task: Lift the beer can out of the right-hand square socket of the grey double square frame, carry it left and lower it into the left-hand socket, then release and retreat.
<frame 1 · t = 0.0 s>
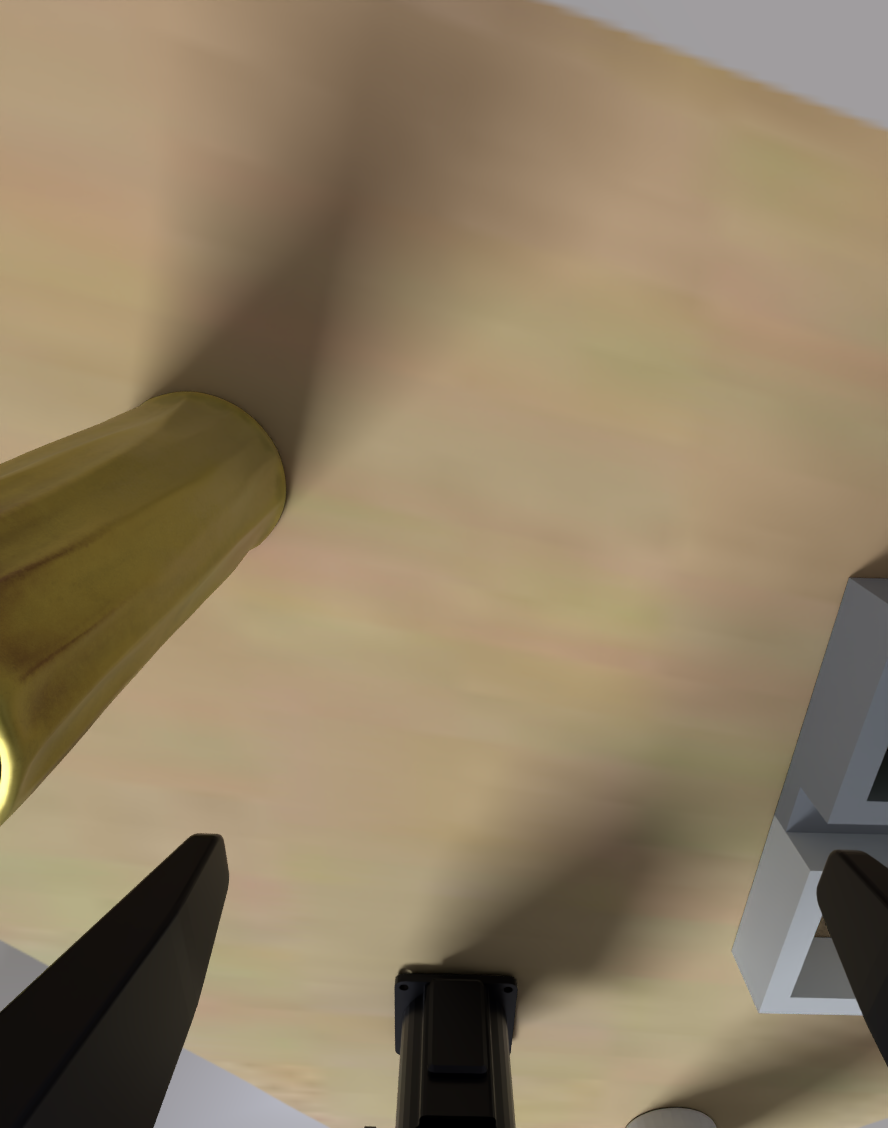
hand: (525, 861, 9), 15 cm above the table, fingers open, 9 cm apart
vase: (204, 476, 22), on the table
grey double square frame: (884, 795, 27), on the table
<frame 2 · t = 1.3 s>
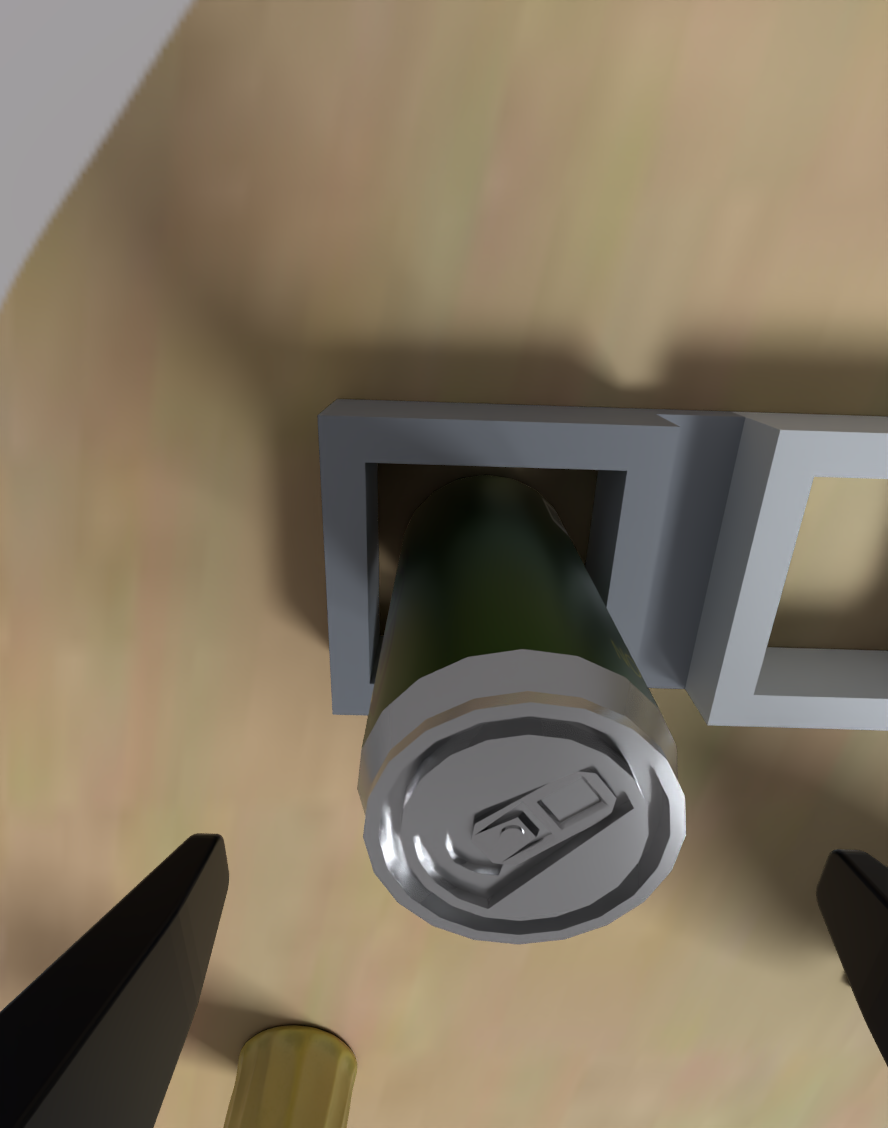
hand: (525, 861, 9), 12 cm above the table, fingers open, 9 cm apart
vase: (300, 1054, 32), on the table
beer can: (482, 545, 20), resting in grey double square frame
grey double square frame: (661, 552, 20), on the table
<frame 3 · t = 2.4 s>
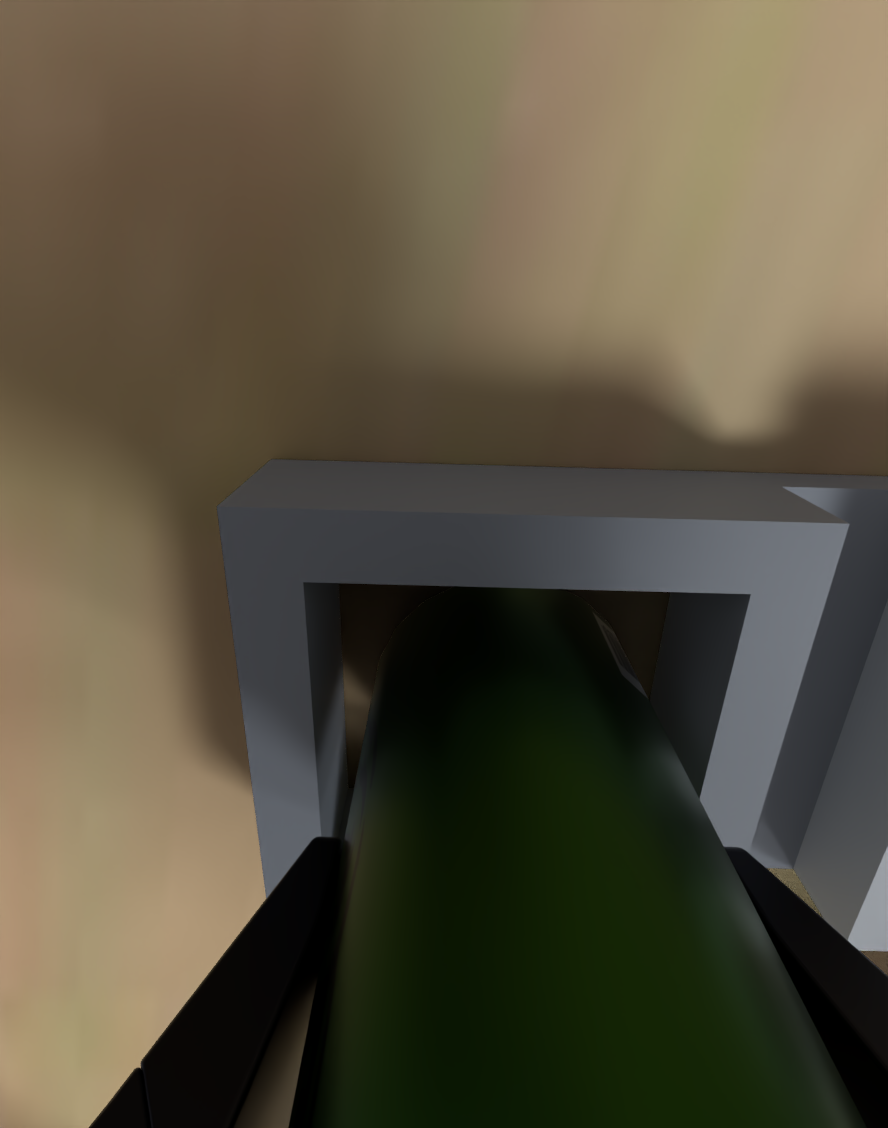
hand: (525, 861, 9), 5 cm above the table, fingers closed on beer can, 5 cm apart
beer can: (497, 666, 14), resting in grey double square frame, touching gripper
grey double square frame: (765, 678, 14), on the table
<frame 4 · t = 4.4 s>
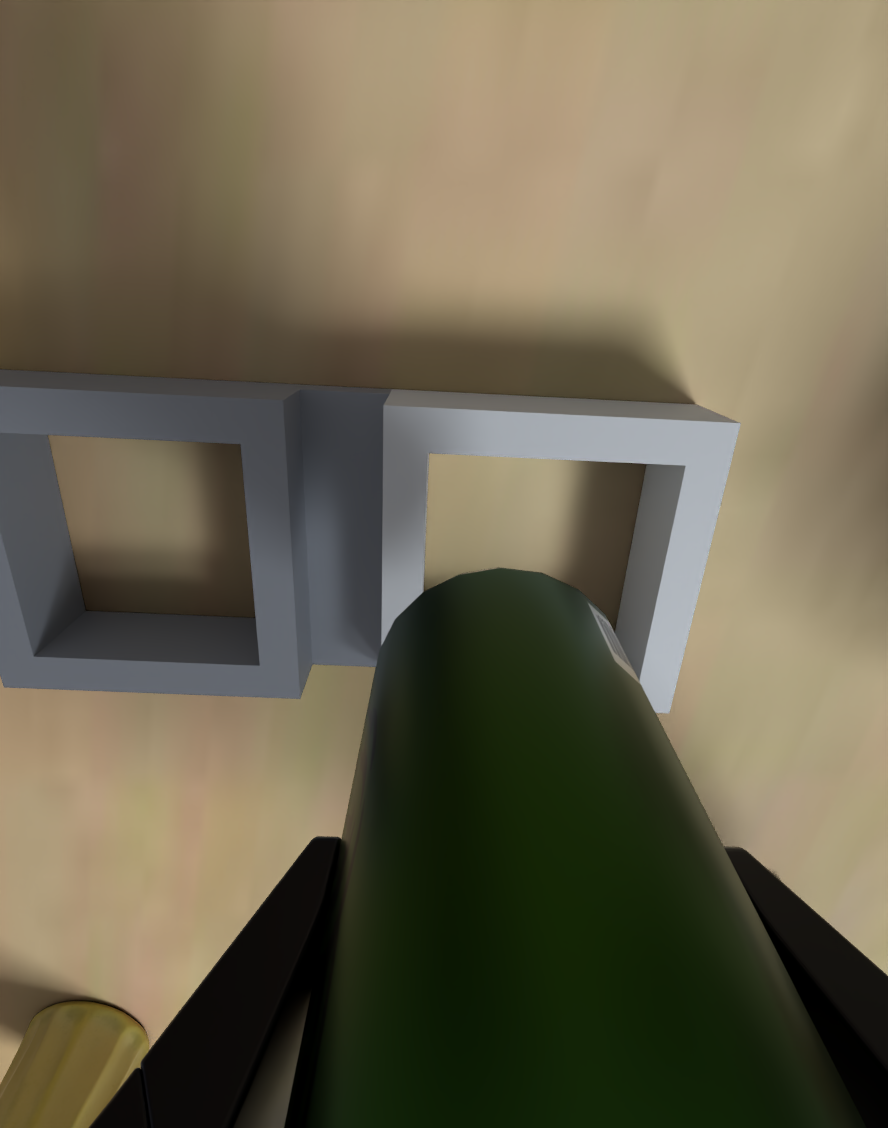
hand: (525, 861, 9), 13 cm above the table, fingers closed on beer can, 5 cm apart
vase: (93, 1030, 32), on the table
beer can: (496, 657, 14), point 7 cm above the table, touching gripper
grey double square frame: (351, 531, 20), on the table
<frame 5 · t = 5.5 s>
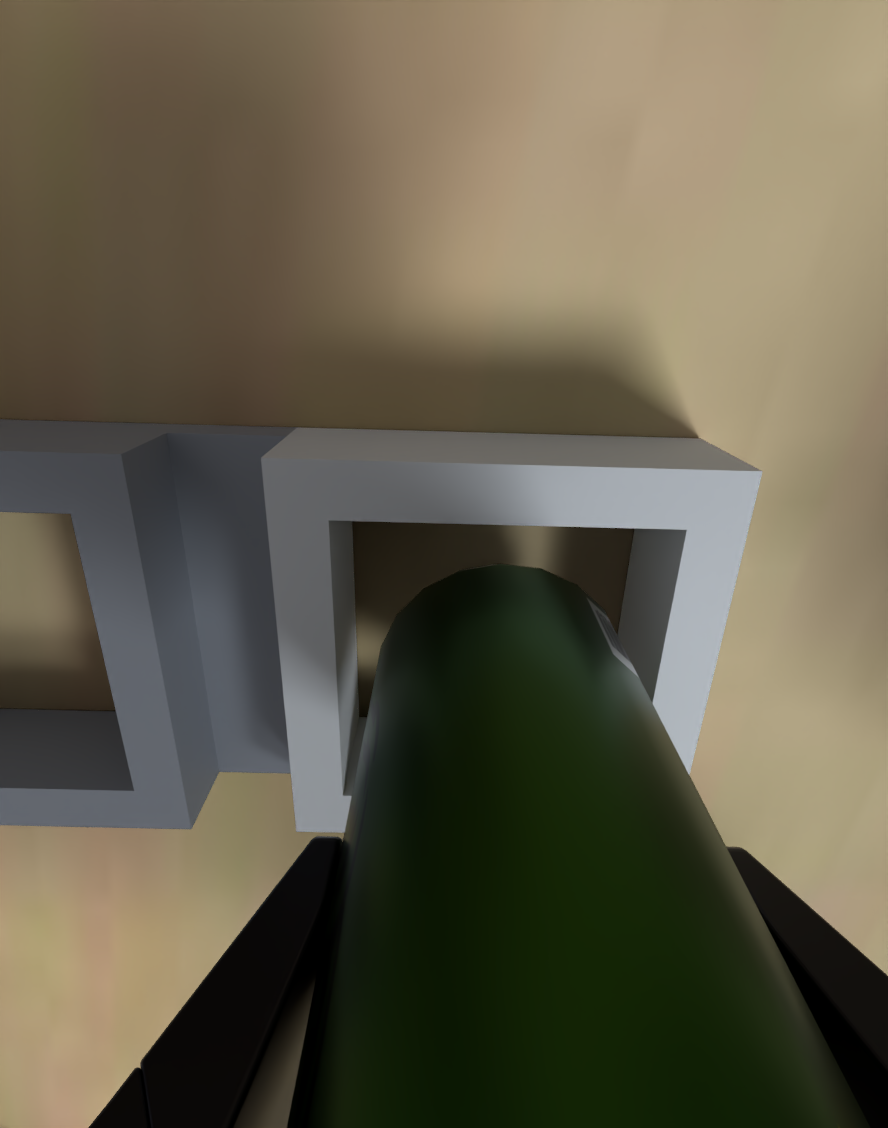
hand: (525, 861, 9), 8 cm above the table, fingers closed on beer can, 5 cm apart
beer can: (496, 653, 14), point 2 cm above the table, touching gripper
grey double square frame: (260, 606, 16), on the table
when the fingers open (6 cm above the table, at t = 6.2 s): beer can stays where it is, resting in grey double square frame.
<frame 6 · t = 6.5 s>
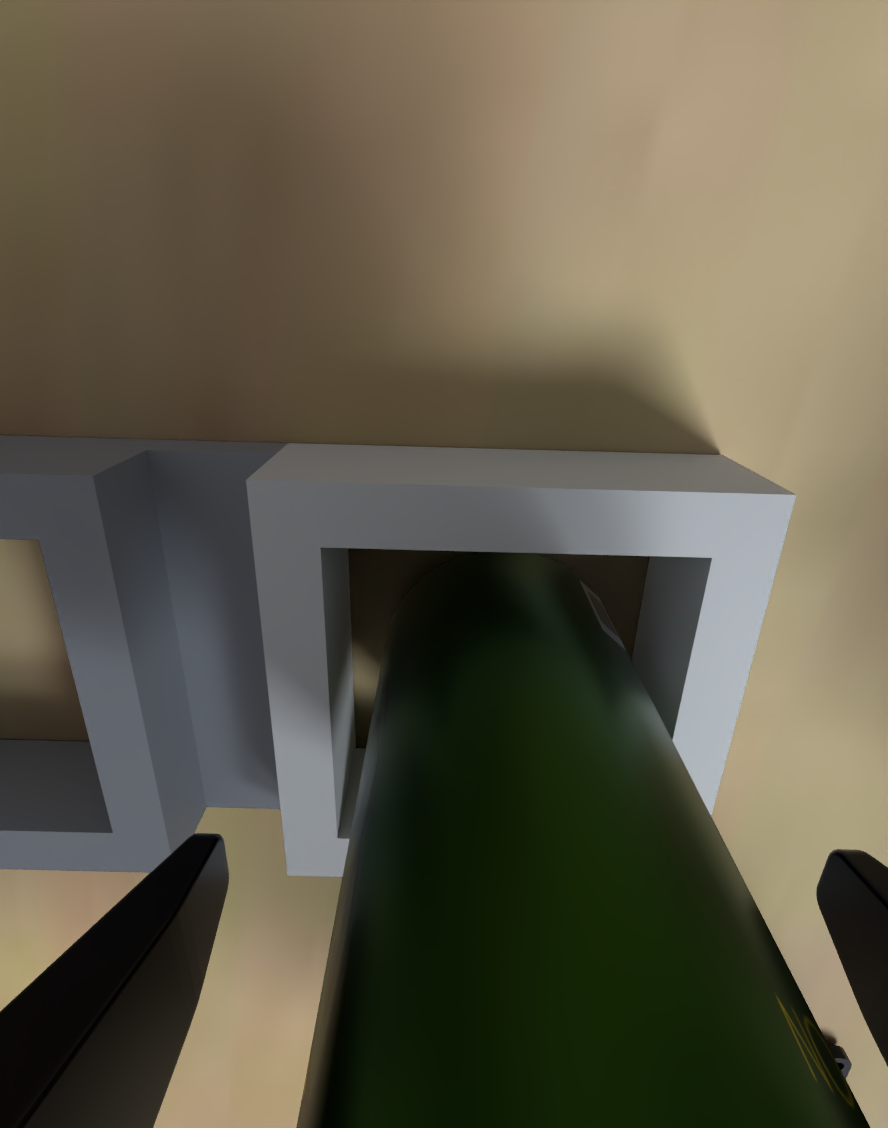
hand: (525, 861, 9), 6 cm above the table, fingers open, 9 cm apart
beer can: (496, 634, 15), resting in grey double square frame
grey double square frame: (249, 632, 15), on the table
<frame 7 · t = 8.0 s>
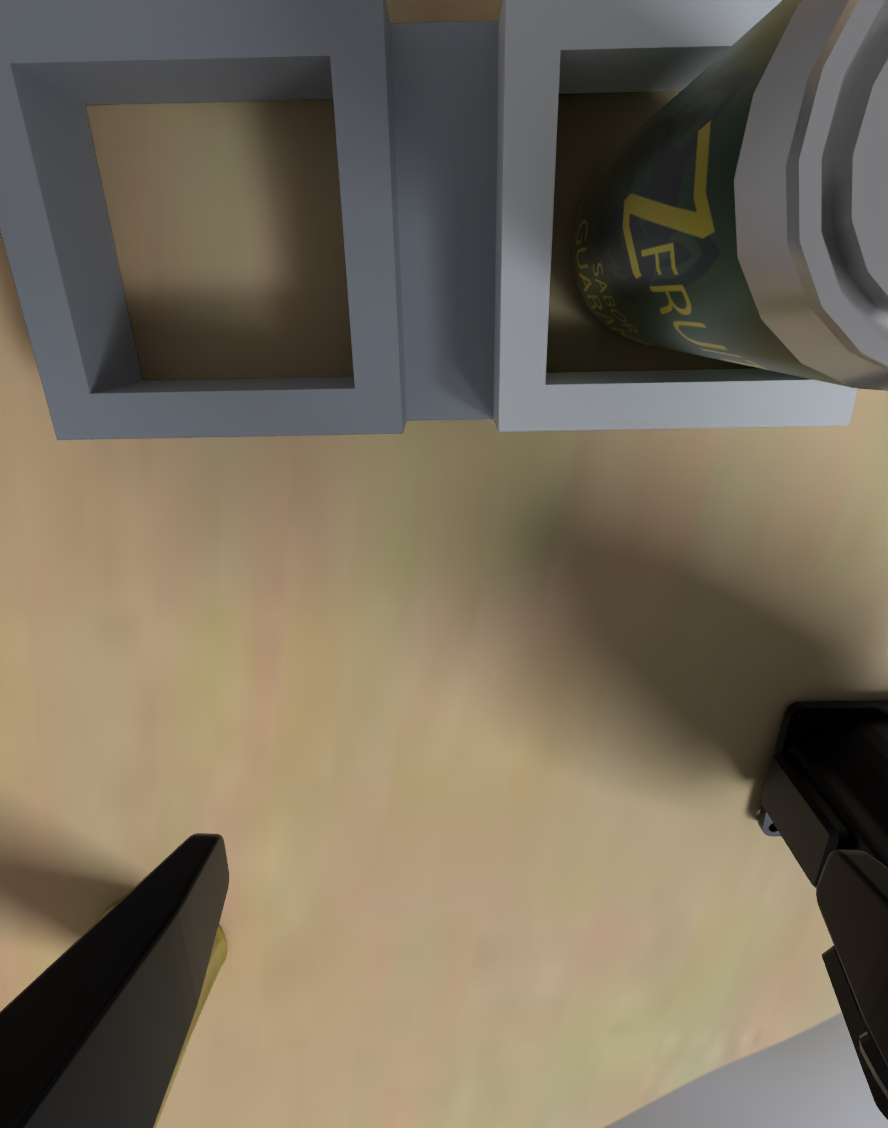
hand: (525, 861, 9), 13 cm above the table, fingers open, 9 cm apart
vase: (165, 933, 29), on the table
beer can: (659, 243, 17), resting in grey double square frame
grey double square frame: (447, 246, 17), on the table
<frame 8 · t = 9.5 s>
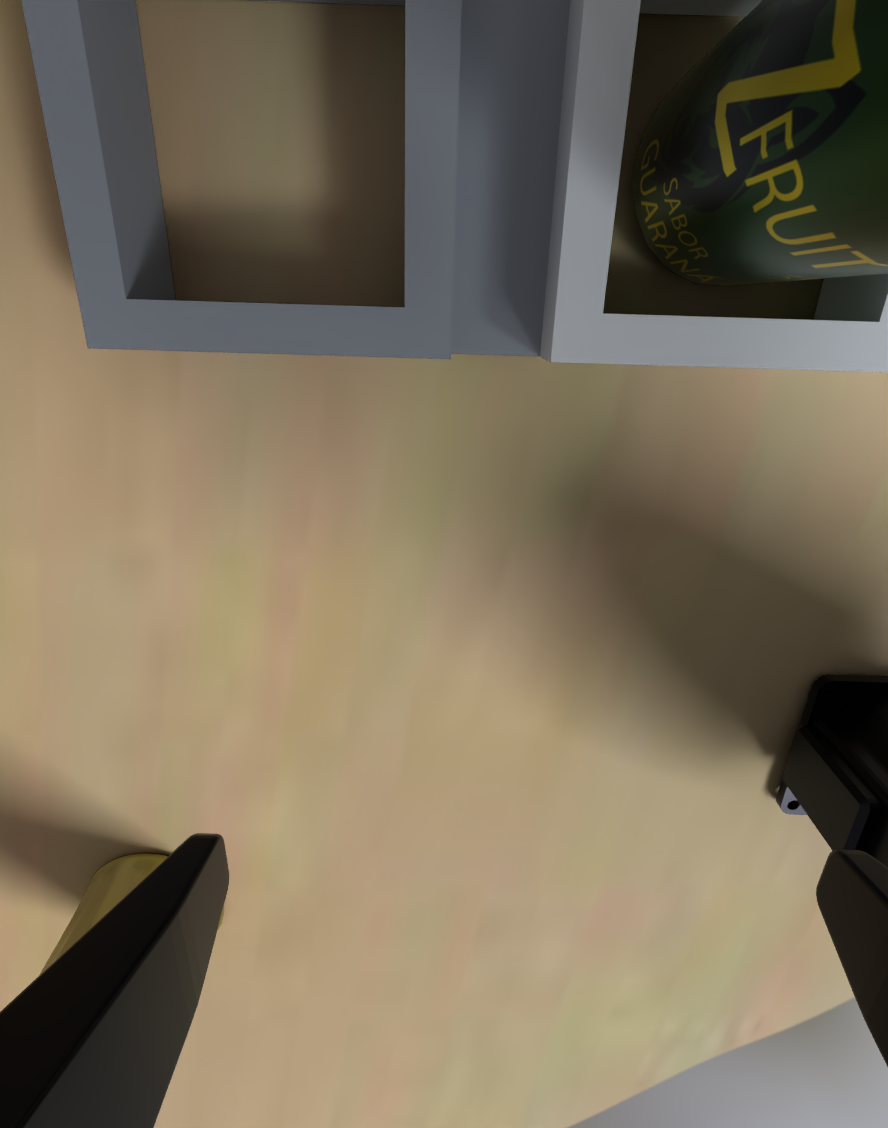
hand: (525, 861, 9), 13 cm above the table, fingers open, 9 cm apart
vase: (160, 895, 28), on the table
beer can: (720, 180, 17), resting in grey double square frame
grey double square frame: (503, 171, 17), on the table
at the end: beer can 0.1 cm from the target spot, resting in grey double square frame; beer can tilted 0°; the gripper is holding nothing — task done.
